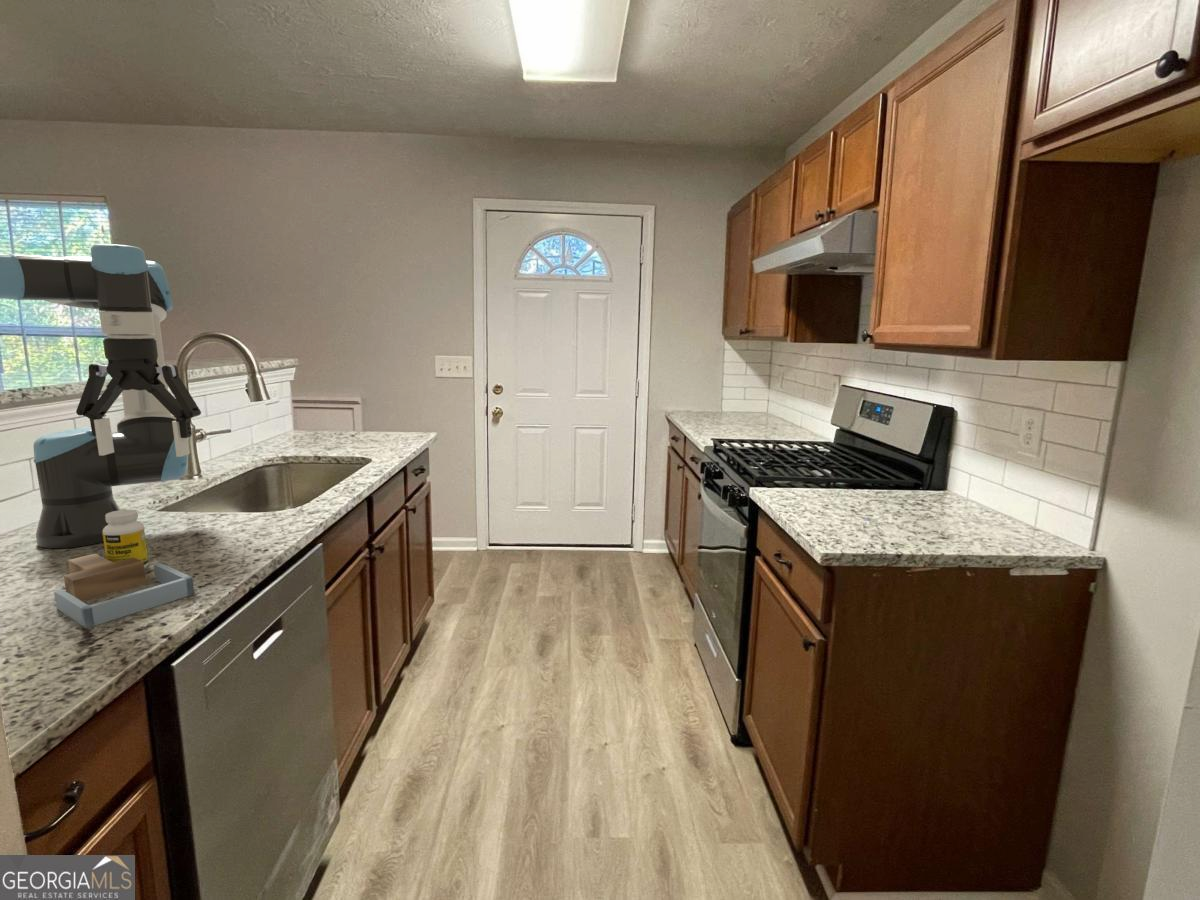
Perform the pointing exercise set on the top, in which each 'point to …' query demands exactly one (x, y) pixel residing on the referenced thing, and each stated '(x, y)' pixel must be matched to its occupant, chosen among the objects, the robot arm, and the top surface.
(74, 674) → the top surface
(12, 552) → the top surface
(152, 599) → the dock
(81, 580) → the t block
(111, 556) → the pill bottle
